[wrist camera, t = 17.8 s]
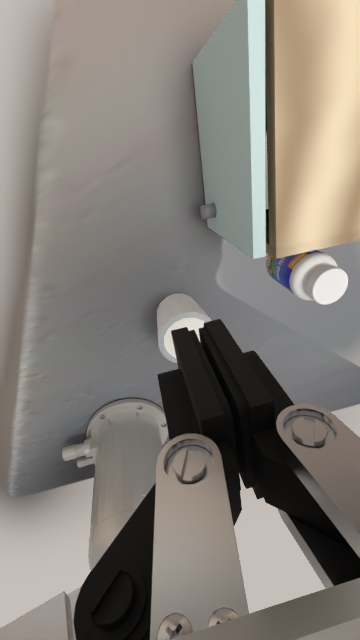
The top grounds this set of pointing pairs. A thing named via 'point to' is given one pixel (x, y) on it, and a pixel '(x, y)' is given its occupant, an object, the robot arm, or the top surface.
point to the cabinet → (312, 124)
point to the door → (234, 127)
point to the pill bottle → (309, 276)
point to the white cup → (177, 320)
